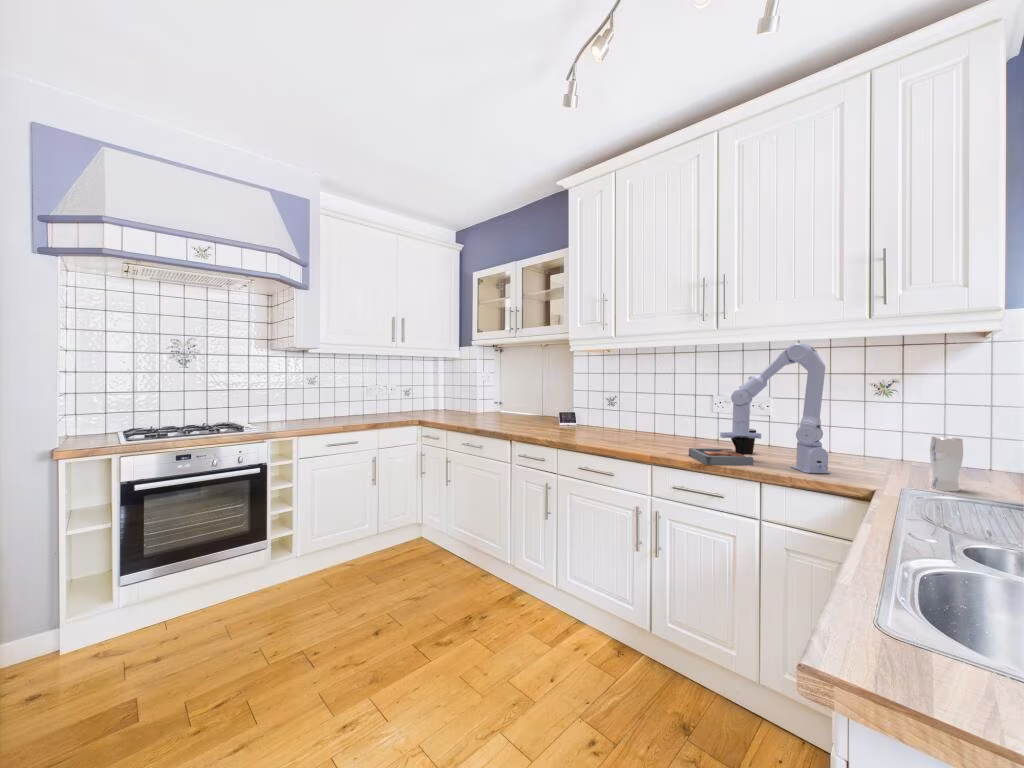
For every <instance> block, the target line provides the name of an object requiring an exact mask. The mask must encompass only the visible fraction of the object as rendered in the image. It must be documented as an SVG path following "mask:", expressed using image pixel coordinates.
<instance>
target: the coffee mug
mask: <svg viewBox="0 0 1024 768" xmlns="http://www.w3.org/2000/svg"><path fill="white" fill-rule="evenodd" d="M749 433H757V429H756V428H755V429H754V428H749ZM736 437H747V436H736ZM749 439H750V443H749V444H748V445H747V447H746V449H745V452H744V455H747V454H750V455H753V454H752V453H754V449H755V441H756V438H749ZM734 450H735V451H734V452H736V449H735V448H734Z"/></svg>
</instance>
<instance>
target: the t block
mask: <svg viewBox="0 0 1024 768" xmlns="http://www.w3.org/2000/svg"><path fill="white" fill-rule="evenodd" d="M704 454H706V455H708V456H742V457H746V455H745V454H744V455H742V454H739V453H737V452H736V451H733V450H732V451H731V450H720V452H707V451H704Z"/></svg>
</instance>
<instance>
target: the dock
mask: <svg viewBox="0 0 1024 768" xmlns="http://www.w3.org/2000/svg"><path fill="white" fill-rule="evenodd" d="M720 450H731V451H733V449H731V448H708V447H707V448H704V447H703V448H701V447H699V448H698V447H697V448H696V447H689V448H688V456H689V455H690V456H689V457H691V458H692V459H694V458H695V460H696V459H697V461H698V462H700V463H702V464H704V465H706V466H742V465H753V466H754V457H753V456H745V457H742V456H708V455H706V454H704V451H707V452H720Z"/></svg>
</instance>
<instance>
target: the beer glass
mask: <svg viewBox="0 0 1024 768" xmlns="http://www.w3.org/2000/svg"><path fill="white" fill-rule="evenodd" d="M963 440H964V439H963V438H959V437H958V438H957V437H951V436H950V437H949V436H931V441H930V448H929V457H930V464H931V468H932V469H931V470H932V480H931V483H930V487H931V488H932V489H934V490H938V491H943V492H950V493H952V492H953V493H959V492H960V490H961V489H960V486H959V485H960V484H959V475H960V471H961V467H962V464H963V460H964V443H963V442H964V441H963Z"/></svg>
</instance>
